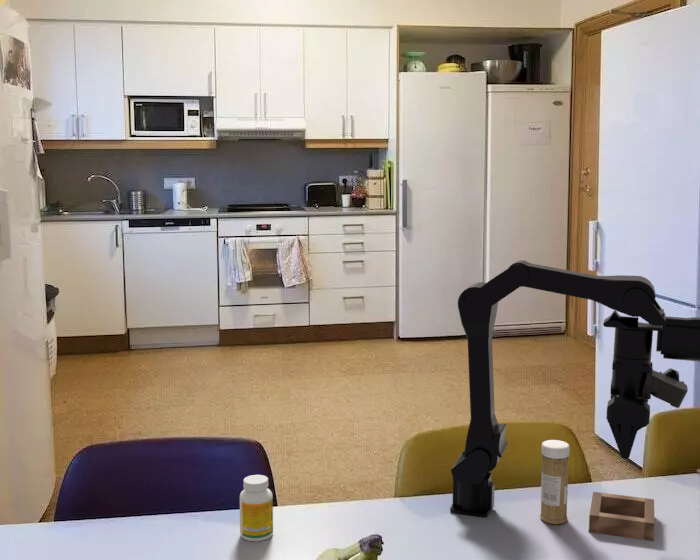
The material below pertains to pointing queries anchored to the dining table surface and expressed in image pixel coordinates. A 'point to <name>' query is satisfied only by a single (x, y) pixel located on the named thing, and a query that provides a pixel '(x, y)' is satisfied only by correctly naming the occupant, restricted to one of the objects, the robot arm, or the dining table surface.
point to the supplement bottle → (256, 509)
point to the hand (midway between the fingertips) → (625, 448)
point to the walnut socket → (622, 516)
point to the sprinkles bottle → (554, 481)
